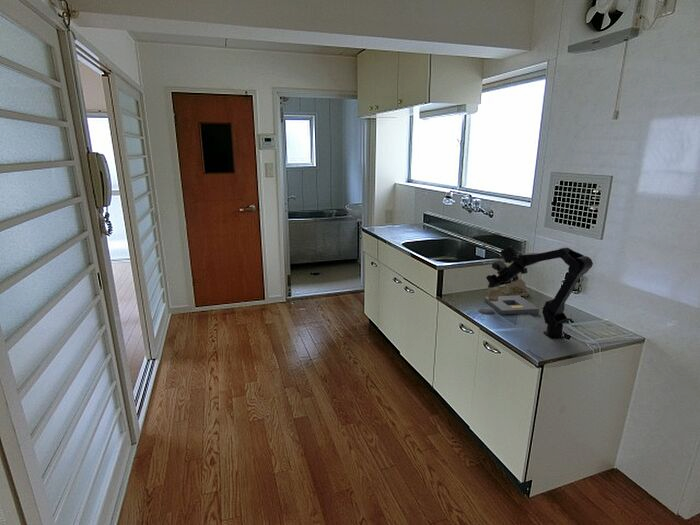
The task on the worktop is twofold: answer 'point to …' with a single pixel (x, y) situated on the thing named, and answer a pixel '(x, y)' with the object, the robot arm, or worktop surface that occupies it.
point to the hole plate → (519, 306)
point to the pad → (486, 311)
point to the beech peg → (493, 293)
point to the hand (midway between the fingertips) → (491, 286)
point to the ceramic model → (516, 288)
